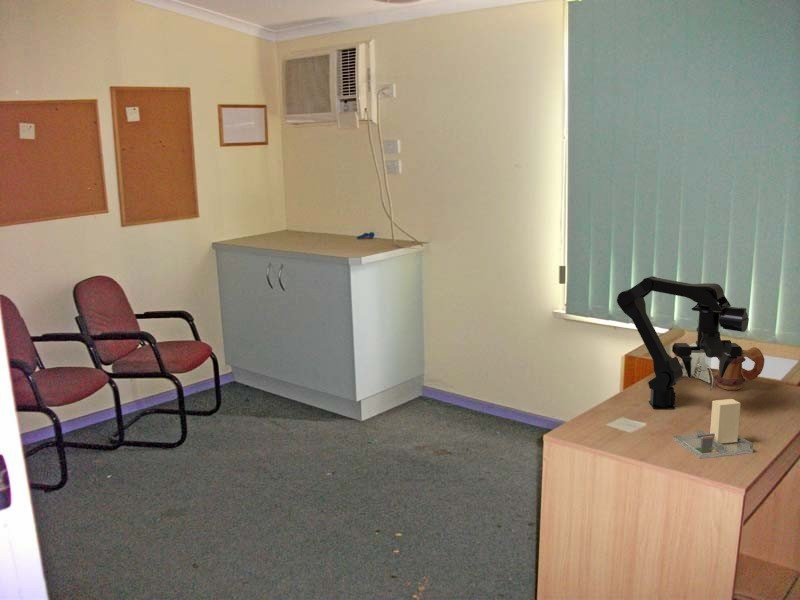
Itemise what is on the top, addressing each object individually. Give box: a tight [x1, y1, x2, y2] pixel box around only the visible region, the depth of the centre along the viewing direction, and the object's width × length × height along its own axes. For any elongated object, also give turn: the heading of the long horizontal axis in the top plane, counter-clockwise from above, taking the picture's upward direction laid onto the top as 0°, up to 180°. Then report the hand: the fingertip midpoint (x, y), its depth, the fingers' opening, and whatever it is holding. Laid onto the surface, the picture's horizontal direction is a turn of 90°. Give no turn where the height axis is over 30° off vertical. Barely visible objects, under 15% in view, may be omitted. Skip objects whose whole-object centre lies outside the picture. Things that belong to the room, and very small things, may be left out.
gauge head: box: [697, 398, 741, 443], centre depth 201 cm, size 4×11×11 cm, turn 101°
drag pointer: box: [701, 436, 713, 449], centre depth 196 cm, size 1×3×3 cm, turn 102°
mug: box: [713, 346, 765, 391], centre depth 245 cm, size 15×8×15 cm, turn 55°
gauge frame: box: [672, 429, 754, 459], centre depth 202 cm, size 13×16×2 cm
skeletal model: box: [679, 342, 714, 391], centre depth 259 cm, size 16×9×25 cm
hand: (705, 377), depth 222 cm, fingers open, 9 cm apart
